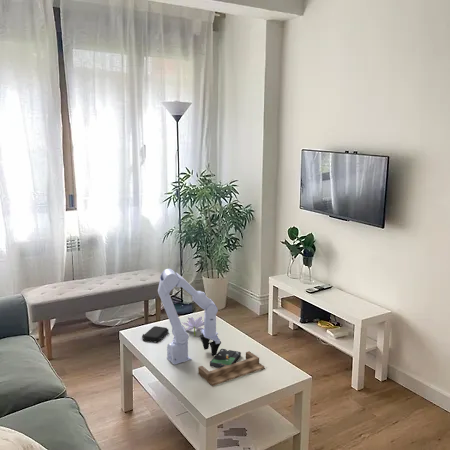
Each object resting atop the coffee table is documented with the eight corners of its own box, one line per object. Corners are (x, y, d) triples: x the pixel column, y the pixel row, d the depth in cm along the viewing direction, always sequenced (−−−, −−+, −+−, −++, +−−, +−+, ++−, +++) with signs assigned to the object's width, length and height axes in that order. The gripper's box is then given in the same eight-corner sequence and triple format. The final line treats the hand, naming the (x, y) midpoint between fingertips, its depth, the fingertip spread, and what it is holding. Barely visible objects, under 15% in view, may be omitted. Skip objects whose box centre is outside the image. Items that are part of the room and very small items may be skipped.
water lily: (188, 343, 254) (188, 327, 260) (213, 338, 250) (213, 322, 255) (175, 333, 244) (176, 317, 249) (201, 327, 239) (201, 311, 244)
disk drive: (221, 353, 229) (209, 367, 216) (221, 348, 229) (209, 361, 215) (241, 357, 226) (230, 371, 212) (241, 351, 225) (230, 365, 212)
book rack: (212, 386, 199) (212, 378, 198) (198, 374, 209) (198, 366, 208) (264, 368, 214) (264, 361, 213) (249, 358, 224) (249, 351, 223)
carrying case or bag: (151, 329, 256) (139, 341, 242) (151, 324, 255) (139, 335, 241) (169, 332, 253) (157, 343, 239) (169, 327, 252) (157, 338, 238)
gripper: (225, 329, 220) (225, 355, 223) (209, 318, 232) (209, 344, 234) (212, 332, 216) (212, 359, 219) (197, 322, 228) (197, 347, 231)
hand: (210, 352), depth 226 cm, fingers open, 7 cm apart
